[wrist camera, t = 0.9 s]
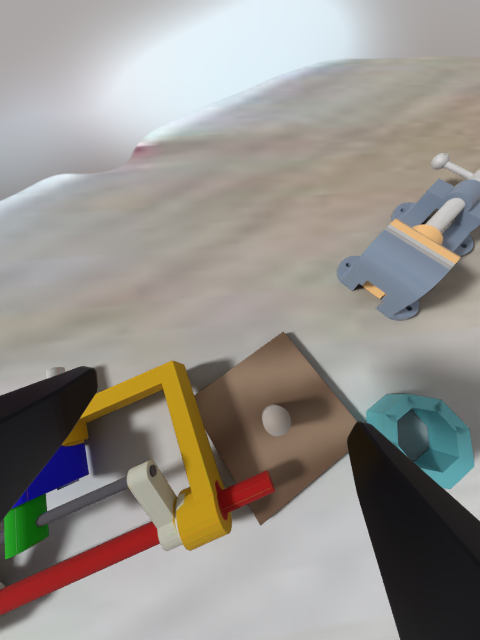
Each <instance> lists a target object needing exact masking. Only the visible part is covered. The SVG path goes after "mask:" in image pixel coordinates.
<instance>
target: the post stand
mask: <svg viewBox="0 0 480 640" xmlns="http://www.w3.org/2000/svg"><path fill="white" fill-rule="evenodd" d="M194 397H195V400H196V403H197V406H198V409H199V413H200V416H201V419H202V422H203V425H204V428H205V430H206V432H207V433H208V435H209V437H210V439H211V440H212V442H213V444H214V446H215V447H216V449H217V451H218V453H219V454H220V456H221V458H222V459H223V461H224V463H225V465H226V466H227V468H228V470H229V472H230V473H231V475H232V477H233V479H234V480H235V482H236V484H237V483H239V482H241V481H244V480H246V479H248V478H250V477H252V476H255V475H257V474H259V473H261V472H264V471H266V470H268V472H269V474H270V477H271V479H272V482H273V485H274V489H275V492H273V493H271V494H269V495H267V496H264V497H262V498H260V499H258V500H255V501H253V502H251V503H249V504H248V505H249V506H250V508H251V510H252V512H253V513H254V515H255V517H256V519H257V520H258V522H259V524H260V525H262V524H263V523H264V522H265V521H267V520H268V519H269V518H270V517H271V516H273V515H274V514H275V513H276V512H277V511H278V510H280V509H281V508H282V507H283V506H284V505H286V504H287V503H288V502H289V501H290V500H291V499H293V498H294V497H295V496H296V495H297V494H299V493H300V492H301V491H302V490H303V489H304V488H306V487H307V486H308V485H309V484H310V483H311V482H313V481H314V480H315V479H316V478H317V477H319V476H320V475H321V474H322V473H323V472H324V471H326V470H327V469H328V468H329V467H330V466H332V465H333V464H334V463H335V462H336V461H337V460H339V459H340V458H341V457H342V456H343V455H345V454H346V453H347V452H348V446H347V438H348V436H349V434H350V432H351V430H352V428H353V427H354V425H355V423H356V422H357V421H356V420H355V419H354V417H353V416H352V415H351V414H350V412H349V411H348V410H347V409H346V408H345V406H344V405H343V404H342V403H341V401H340V400H339V399H338V398H337V397H336V395H335V394H334V393H333V392H332V390H331V389H330V388H329V387H328V385H327V384H326V383H325V382H324V381H323V379H322V378H321V377H320V376H319V374H318V373H317V372H316V371H315V370H314V368H313V367H312V366H311V365H310V363H309V362H308V361H307V360H306V359H305V357H304V356H303V355H302V354H301V352H300V351H299V350H298V349H297V348H296V346H295V345H294V344H293V343H292V341H291V340H290V339H289V338H288V336H287V335H286V334H285V333H284V332H282V333H281V334H279V335H278V336H277V337H275V338H274V339H272V340H271V341H270V342H268V343H267V344H265V345H264V346H263V347H261V348H260V349H259V350H257V351H256V352H254V353H253V354H252V355H250V356H249V357H247V358H246V359H245V360H243V361H242V362H240V363H239V364H238V365H236V366H235V367H234V368H232V369H231V370H229V371H228V372H227V373H225V374H224V375H222V376H221V377H220V378H218V379H217V380H215V381H214V382H213V383H211V384H210V385H209V386H207V387H206V388H204V389H203V390H202V391H200V392H199V393H197V394H196V395H195V396H194Z"/></svg>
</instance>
